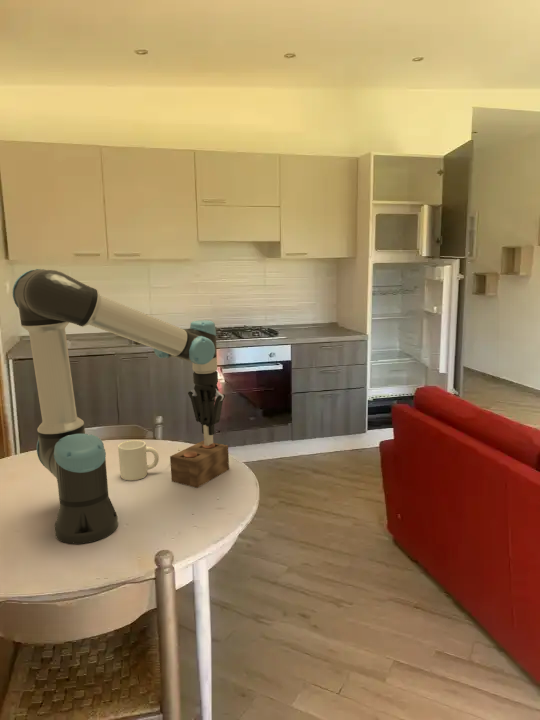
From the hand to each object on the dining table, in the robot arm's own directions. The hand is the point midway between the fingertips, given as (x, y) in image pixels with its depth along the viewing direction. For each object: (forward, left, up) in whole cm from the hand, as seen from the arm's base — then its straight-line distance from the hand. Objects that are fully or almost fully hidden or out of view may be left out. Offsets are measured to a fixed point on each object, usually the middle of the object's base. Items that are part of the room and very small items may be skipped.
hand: (208, 444), depth 174 cm
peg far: (0, 0, -8) cm, 8 cm away
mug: (-14, +17, -9) cm, 24 cm away
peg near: (-9, 0, -8) cm, 12 cm away
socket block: (-5, 0, -9) cm, 10 cm away
